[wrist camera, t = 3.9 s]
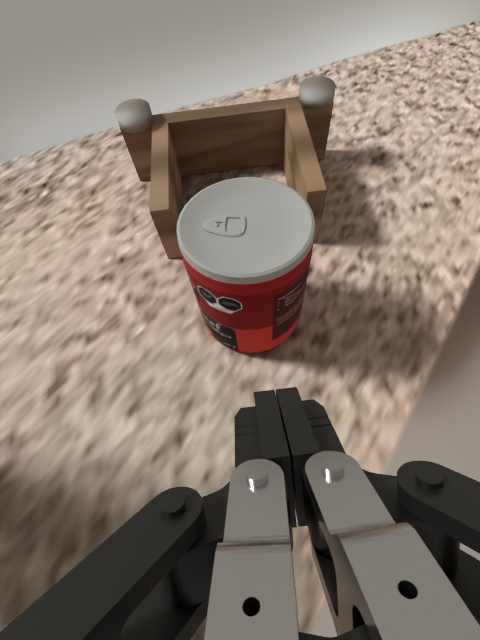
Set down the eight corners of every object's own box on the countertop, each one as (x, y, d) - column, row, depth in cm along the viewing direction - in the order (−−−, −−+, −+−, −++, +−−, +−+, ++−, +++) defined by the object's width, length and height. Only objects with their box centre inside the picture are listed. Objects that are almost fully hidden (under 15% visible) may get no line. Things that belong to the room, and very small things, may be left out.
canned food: (197, 287, 31) (167, 189, 22) (285, 268, 32) (293, 163, 22) (213, 366, 28) (185, 292, 18) (311, 344, 28) (335, 259, 18)
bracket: (350, 236, 33) (370, 172, 26) (135, 262, 33) (104, 204, 27) (320, 144, 39) (331, 74, 33) (140, 166, 39) (116, 101, 33)
